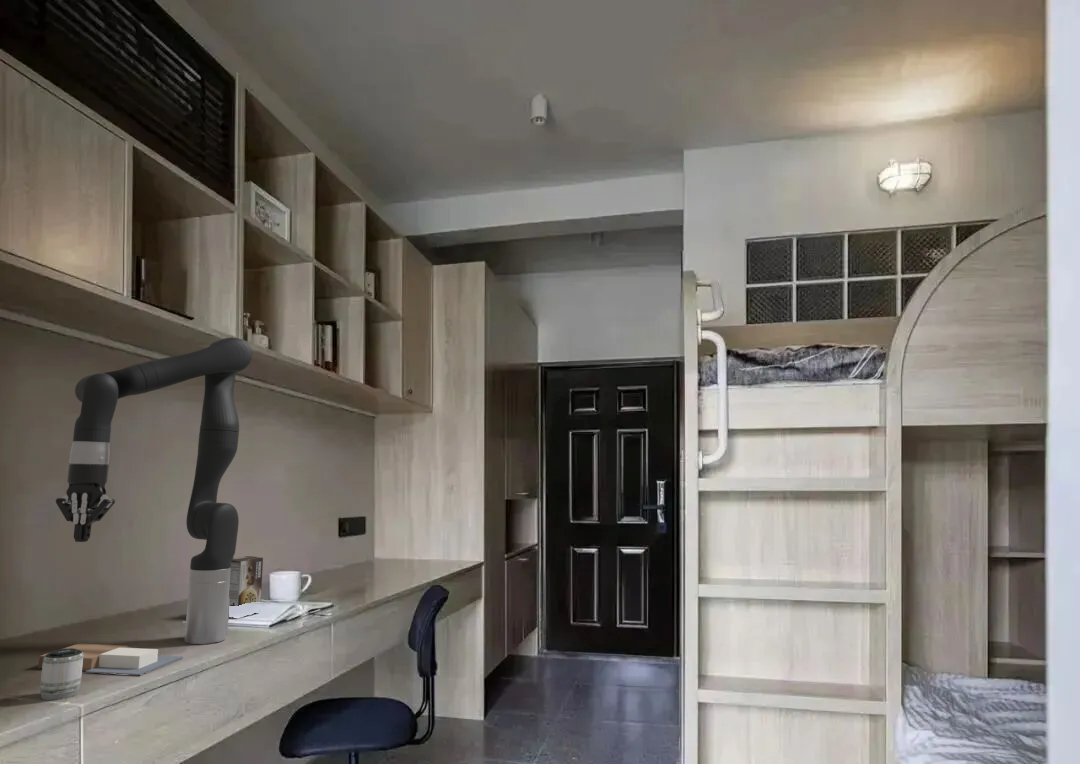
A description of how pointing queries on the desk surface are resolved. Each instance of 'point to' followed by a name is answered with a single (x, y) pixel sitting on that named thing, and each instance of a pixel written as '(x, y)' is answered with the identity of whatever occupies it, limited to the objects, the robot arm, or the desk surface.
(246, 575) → the coffee box
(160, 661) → the mat
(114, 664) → the white box
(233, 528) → the robot arm
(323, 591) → the desk surface
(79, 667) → the camera lens
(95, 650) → the plate
